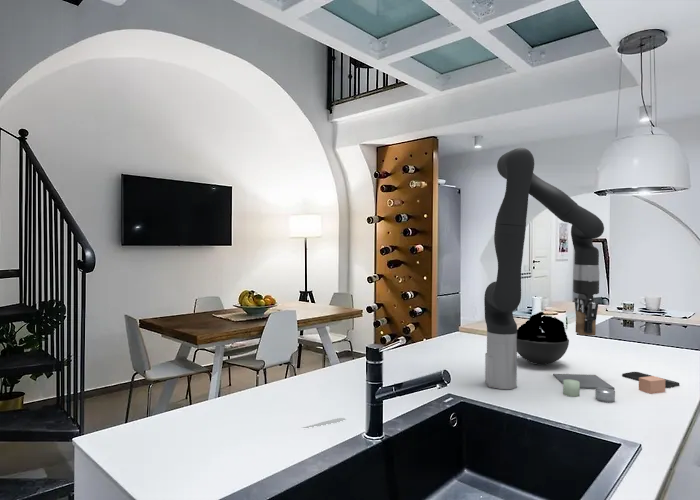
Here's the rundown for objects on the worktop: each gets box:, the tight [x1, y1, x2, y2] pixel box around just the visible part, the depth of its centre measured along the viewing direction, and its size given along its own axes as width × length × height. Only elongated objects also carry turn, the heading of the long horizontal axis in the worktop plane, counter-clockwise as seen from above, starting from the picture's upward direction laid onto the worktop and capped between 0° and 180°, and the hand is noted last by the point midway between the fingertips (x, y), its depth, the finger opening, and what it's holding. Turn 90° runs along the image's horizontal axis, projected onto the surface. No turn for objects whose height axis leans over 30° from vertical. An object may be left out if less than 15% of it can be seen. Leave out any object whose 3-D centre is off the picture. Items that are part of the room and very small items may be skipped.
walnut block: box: [575, 311, 597, 336], centre depth 151 cm, size 4×4×7 cm
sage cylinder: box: [562, 379, 581, 398], centre depth 140 cm, size 4×4×4 cm
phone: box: [621, 371, 680, 389], centre depth 154 cm, size 8×1×15 cm
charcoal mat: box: [552, 373, 615, 391], centre depth 152 cm, size 14×14×1 cm
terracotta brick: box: [638, 375, 666, 395], centre depth 144 cm, size 6×4×4 cm, turn 107°
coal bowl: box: [517, 311, 570, 366], centre depth 175 cm, size 20×20×19 cm
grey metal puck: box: [594, 387, 616, 404], centre depth 136 cm, size 5×5×3 cm
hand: (585, 331), depth 151 cm, fingers closed on walnut block, 4 cm apart
